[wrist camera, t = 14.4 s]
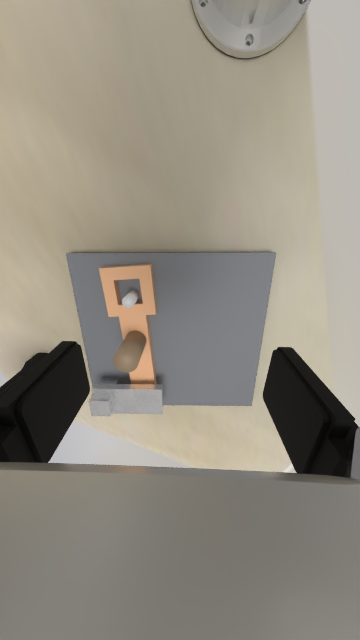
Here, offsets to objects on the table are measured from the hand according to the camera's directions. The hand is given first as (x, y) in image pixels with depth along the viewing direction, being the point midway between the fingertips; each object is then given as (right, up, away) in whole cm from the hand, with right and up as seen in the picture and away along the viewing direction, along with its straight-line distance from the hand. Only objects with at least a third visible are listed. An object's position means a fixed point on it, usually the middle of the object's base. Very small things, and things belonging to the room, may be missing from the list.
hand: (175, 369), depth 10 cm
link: (-7, 0, +23) cm, 24 cm away
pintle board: (-1, 0, +24) cm, 24 cm away
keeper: (-8, -9, +28) cm, 30 cm away
